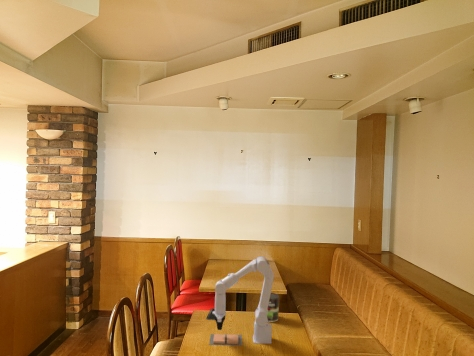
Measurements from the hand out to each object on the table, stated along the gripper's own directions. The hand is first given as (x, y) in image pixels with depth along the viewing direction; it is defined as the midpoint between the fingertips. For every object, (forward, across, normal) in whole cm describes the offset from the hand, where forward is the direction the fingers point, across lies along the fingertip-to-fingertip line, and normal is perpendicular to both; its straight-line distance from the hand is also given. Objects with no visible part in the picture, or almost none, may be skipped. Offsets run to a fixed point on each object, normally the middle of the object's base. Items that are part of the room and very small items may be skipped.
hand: (219, 329), depth 178 cm
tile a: (+4, -2, +7) cm, 8 cm away
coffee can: (+6, -26, +30) cm, 40 cm away
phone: (+6, -29, -4) cm, 30 cm away
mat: (+5, +1, +4) cm, 7 cm away
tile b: (+4, -2, 0) cm, 5 cm away
